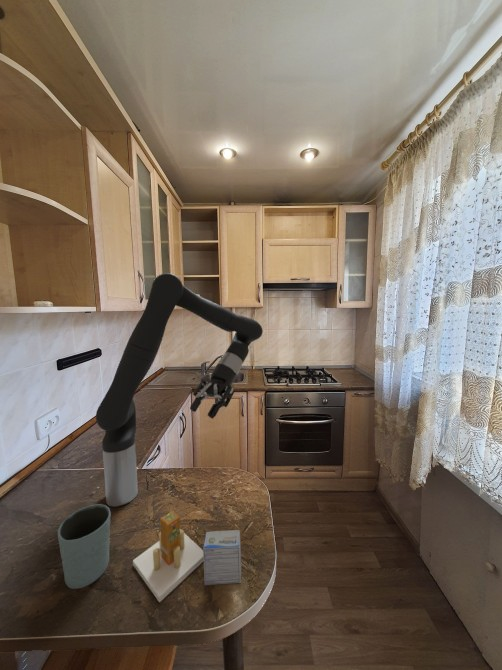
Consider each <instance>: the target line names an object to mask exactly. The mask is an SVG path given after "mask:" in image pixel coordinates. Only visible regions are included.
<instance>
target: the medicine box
mask: <svg viewBox="0 0 502 670" xmlns="http://www.w3.org/2000/svg"><path fill="white" fill-rule="evenodd" d="M202 546H203V547H202V550H203V559H204V561H203V575H204V580H203V581H204V586H215V585H226V584H227V585H228V584H241V583H242V553H241V551H242V550H241V549H242V545H241V531H240V529H235V530H234V529H232V530H215V531H206V532H205V536H204V542H203V545H202Z"/></svg>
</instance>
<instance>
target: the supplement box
mask: <svg viewBox="0 0 502 670" xmlns="http://www.w3.org/2000/svg"><path fill="white" fill-rule="evenodd" d="M180 519H181V518H180V516H179V515H178V514H177V513H176V512H175V511H174V510H171V511H170V512H169V513H167V514H166V515H163V516H162V517H160V519H159V520H160V522H159V523H160V532H161V557H162V558H163V560H164V561H165V562H166V563H167V564H168V565H170V564H171V563H172V562H174V551H173V549H174V548H175V547H176V546H179V547H180V529H181V525H180V524H181V523H180V521H181V520H180Z"/></svg>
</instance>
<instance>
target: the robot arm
mask: <svg viewBox="0 0 502 670" xmlns="http://www.w3.org/2000/svg"><path fill="white" fill-rule="evenodd" d="M176 307H179V308H182V309H185V310H187V311H188V312H191V313H193V314H194V315H196V316H198V317H200V318H201V319H203V320H205V321H206V322H208V323H210V324H212V325H213V326H215V327H216V328H219V329H220V330H223V331H225V332H228V333H232V332H235V333H234V336H233V338H232V340H231V343H230V344H229V345H228V348H227V349H226V351H225V353H224V354H223V355H222V356H221V357H220V359H219V360H218V362H217V364H216V365H215V366H214V369H213V370H212V372H211V373H210V380H209V381H206V380H205V379H202V380H201V381H200V383H199V384H198V386H197V387H196V389H195V390H194V391H193V393H192V395H193V396H194V397H195V398H194V400H193V402H192V403H191V405H190V407H189V409H190V410H191V411H192V412H194V413H195V412H197V410H198V408H199V407H200V405H201V403H202V401H204V400H206V399H209V398H213V399H214V403H213V404H212V406H211V408H210V409H209V411H208V413H207V417H209V418H210V419H214V418H215V417H216V416H217V415H218V413H219V410H221V409H222V408H223V407H225V408H227V407H228V406H229V405H230V401H231V400H232V398H233V395H234V393H235V392H236V390H235V388H234V387H232V385H233V383H234V382H235V379H236V378H237V376H238V374H239V373H240V371H241V368H242V366H243V364H244V362H245V360H246V359H247V357H248V355H249V352H250V350H249V346H250V344H251V343H252V342H255V341H257V340H258V339H260V338H261V337H262V335H263V332H264V331H263V328H262V325H261V324H260V323H259V322H258V321H256V320H255V319H253V318H250V317H247V316H245V315H244V316H243V315H240V314H237V313H235V312H233V311H231V310H230V309H228V308H226V307H224V306H222V305H219V304H218V303H215V302H213V301H211V300H210V299H207V298H204V297H203V296H200V295H199V294H196V293H194V292H193V291H192V290H191V289H189V288H188V287H186V286H185V285H183V283H182V280H181V279H180V277H178V276H177V275H176V274H173V273H171V272H170V273H169V272H165V273H160V274H159V275H158V276H156V277H155V278H154V280H153V281H152V283H151V289H150V292H149V295H148V299H147V302H146V305H145V308H144V311H143V313H142V315H141V317H140V319H138V321H137V324H136V325H135V327H134V328H133V331H132V332H131V334H130V335H129V336H130V337H129V339H128V341H127V344H126V345H125V348H124V350H123V354H122V355H121V358H120V360H119V363H118V366H117V368H116V372H115V373H114V377H113V379H112V382H111V384H110V386H109V387H108V389H107V392H106V394H105V395H104V397H103V398H102V401H101V402H100V404H99V406H98V407H97V410H96V414H95V421H96V423H97V425H98V427H99V428H100V429H102V430H104V431H105V432H104V436H103V439H102V442H101V446H102V460H103V461H102V462H103V473H104V475H103V476H104V487H105V503H106V504H107V505H108V507H120V506H123V505H126V504H128V503H130V502H132V501H133V500H134V499H135V498H136V497H137V496H138V493H139V487H138V485H139V484H138V472H137V471H138V470H137V455H136V454H137V453H136V432H137V410H136V404H135V401H134V400H133V399H134V396H135V394H136V392H137V390H138V388H139V386H140V385H141V383H142V382H143V380H144V379H145V377H146V376H147V374H148V372H149V370H150V369H151V367H152V365H153V364H154V362H155V360H156V356H157V355H158V352H159V350H160V348H161V347H160V346H161V344H162V341H163V337H164V334H165V332H166V328H167V327H166V326H168V325H167V324H168V322H169V319H170V317H171V315H172V313H173V311H174V310H175V308H176Z"/></svg>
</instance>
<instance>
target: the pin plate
mask: <svg viewBox="0 0 502 670" xmlns="http://www.w3.org/2000/svg"><path fill="white" fill-rule="evenodd" d="M158 539H159V540H158V541H157V542H156V543H154V544H153V545H151V546H150V547H149V548H148V549H146V550H145V551H143V552H142V553H141V554H139V555H138V556H137V557H136V558H134V559H133V560H132V566H133V567H134V569H135V570H136V571H137V573H138V575H139V576H140V577H141V579H142V580H143V581H144V583H145V584H146V586H147V587H148V589H149V590H150V591H151V593H152V594H153V596H155V599H156V600H157V601H158V602H159V603H161V602H162V601H163V600H164V599H165V598H166V597H167V596H169V594H170V593H171V592H172V591H174V590H175V589H176V588H177V587H178V586H179V585H180V584H181V583H182V582H183V581H184V580H185V579H186V578H187V577H188V576H189V575H191V573H193V572H194V571H196V569H197V568H198V567H199V566H200V565H201V564H202V563H204V559H203V548H201V547H200V546H199V545H198V544H197V543H196V542H195V541H193V540H192V538H191V537H189V536H188V535H187V534H186V533H185V530H184V529H181V528H180V547H179V546H176V547H175V548H174V549H173V551H174V562H172V563H171V564H170V565H168V564H167V563H166V562H165V561H164V560H163V558H162V557H161V531H160V532H159V533H158Z"/></svg>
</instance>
